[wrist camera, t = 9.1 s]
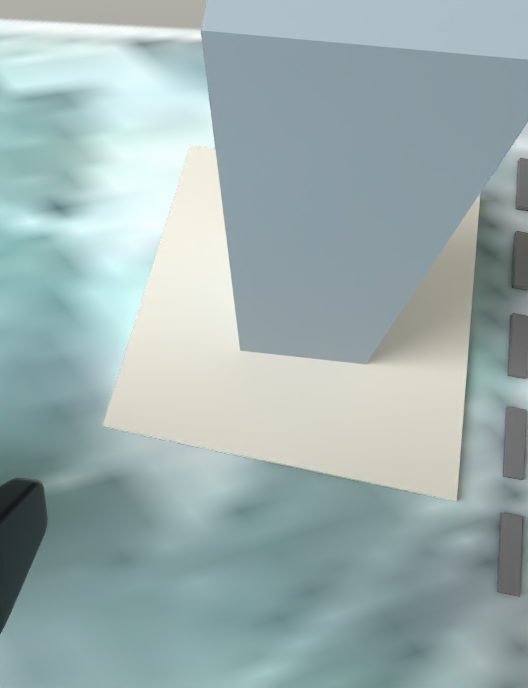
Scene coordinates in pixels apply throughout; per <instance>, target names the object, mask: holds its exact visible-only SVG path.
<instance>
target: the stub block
mask: <svg viewBox="0 0 528 688" xmlns="http://www.w3.org/2000/svg"><path fill="white" fill-rule="evenodd" d="M201 35H202V43H203V51H204V60H205V68H206V76H207V84H208V92H209V100H210V109H211V117H212V125H213V133H214V141H215V149H216V158H217V166H218V174H219V182H220V190H221V198H222V207H223V215H224V223H225V231H226V239H227V247H228V256H229V264H230V272H231V280H232V288H233V296H234V305H235V313H236V321H237V329H238V337H239V346H240V351H248V352H257V353H266V354H275V355H285V356H294V357H303V358H312V359H321V360H330V361H339V362H348V363H357V364H367V362H368V361H369V359H370V358H371V356H372V355H373V353H374V352H375V350H376V349H377V347H378V346H379V344H380V343H381V341H382V340H383V338H384V337H385V335H386V334H387V332H388V331H389V329H390V328H391V326H392V325H393V323H394V322H395V320H396V319H397V317H398V316H399V314H400V313H401V311H402V310H403V308H404V307H405V305H406V304H407V302H408V301H409V299H410V298H411V296H412V295H413V293H414V292H415V290H416V289H417V287H418V286H419V284H420V283H421V281H422V280H423V278H424V277H425V275H426V274H427V272H428V271H429V269H430V268H431V266H432V265H433V263H434V262H435V260H436V259H437V257H438V256H439V254H440V253H441V251H442V250H443V248H444V247H445V245H446V244H447V242H448V241H449V239H450V238H451V236H452V235H453V233H454V232H455V230H456V229H457V227H458V226H459V224H460V223H461V221H462V220H463V218H464V217H465V215H466V214H467V212H468V211H469V209H470V208H471V206H472V205H473V203H474V202H475V200H476V199H477V197H478V196H479V194H480V193H481V191H482V190H483V188H484V187H485V185H486V184H487V182H488V181H489V179H490V178H491V176H492V175H493V173H494V172H495V170H496V169H497V167H498V166H499V164H500V163H501V161H502V160H503V158H504V157H505V155H506V154H507V152H508V151H509V149H510V148H511V146H512V145H513V143H514V142H515V140H516V139H517V137H518V136H519V134H520V133H521V131H522V130H523V128H524V127H525V125H526V124H527V122H528V0H207V4H206V9H205V13H204V18H203V23H202V28H201Z"/></svg>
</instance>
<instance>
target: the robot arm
mask: <svg viewBox="0 0 528 688" xmlns="http://www.w3.org/2000/svg"><path fill="white" fill-rule="evenodd" d="M47 520H48V519H47V509H46V501H45V493H44V487H43V484H42V483H41V482H40V481H38V480H33V479H25V478H15V479H12V480H10V481H8V482H6V483H5V484H3V485H1V486H0V634H1V632H2V630H3V628H4V626H5V624H6V622H7V620H8V618H9V615H10V613H11V611H12V609H13V606H14V604H15V602H16V599H17V597H18V595H19V592H20V590H21V588H22V585H23V583H24V581H25V578H26V576H27V574H28V571H29V569H30V567H31V564H32V562H33V560H34V557H35V555H36V553H37V550H38V548H39V546H40V543H41V541H42V539H43V536H44V534H45V531H46V528H47Z"/></svg>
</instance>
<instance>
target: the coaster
mask: <svg viewBox="0 0 528 688" xmlns="http://www.w3.org/2000/svg"><path fill="white" fill-rule="evenodd" d="M479 205H480V195H479V196H478V197H477V199H476V200H475V202H474V203H473V205H472V206H471V208H470V209H469V211H468V212H467V214H466V215H465V217H464V218H463V220H462V221H461V223H460V224H459V226H458V227H457V229H456V230H455V232H454V233H453V235H452V236H451V238H450V239H449V241H448V242H447V244H446V245H445V247H444V248H443V250H442V251H441V253H440V254H439V256H438V257H437V259H436V260H435V262H434V263H433V265H432V266H431V268H430V269H429V271H428V272H427V274H426V275H425V277H424V278H423V280H422V281H421V283H420V284H419V286H418V287H417V289H416V290H415V292H414V293H413V295H412V296H411V298H410V299H409V301H408V302H407V304H406V305H405V307H404V308H403V310H402V311H401V313H400V314H399V316H398V317H397V319H396V320H395V322H394V323H393V325H392V326H391V328H390V329H389V331H388V332H387V334H386V335H385V337H384V338H383V340H382V341H381V343H380V344H379V346H378V347H377V349H376V350H375V352H374V353H373V355H372V356H371V358H370V359H369V361H368V362H367V364H357V363H348V362H339V361H330V360H321V359H312V358H303V357H294V356H285V355H275V354H266V353H257V352H248V351H240V346H239V337H238V329H237V321H236V313H235V305H234V296H233V288H232V280H231V272H230V264H229V256H228V247H227V239H226V231H225V223H224V215H223V207H222V198H221V190H220V182H219V174H218V166H217V158H216V149H213V148H207V147H201V146H196V145H190V148H189V151H188V154H187V158H186V161H185V164H184V167H183V170H182V173H181V177H180V180H179V183H178V186H177V189H176V193H175V196H174V199H173V202H172V205H171V208H170V212H169V215H168V218H167V221H166V224H165V228H164V231H163V234H162V237H161V240H160V243H159V247H158V250H157V253H156V256H155V259H154V263H153V266H152V269H151V272H150V275H149V279H148V282H147V285H146V288H145V291H144V294H143V298H142V301H141V304H140V307H139V310H138V314H137V317H136V320H135V323H134V326H133V329H132V333H131V336H130V339H129V342H128V345H127V349H126V352H125V355H124V358H123V361H122V364H121V368H120V371H119V374H118V377H117V380H116V384H115V387H114V390H113V393H112V396H111V400H110V403H109V406H108V409H107V412H106V415H105V419H104V422H103V425H102V426H103V427H105V428H109V429H113V430H118V431H123V432H128V433H132V434H137V435H142V436H147V437H151V438H156V439H161V440H165V441H170V442H175V443H180V444H184V445H189V446H194V447H199V448H203V449H208V450H213V451H217V452H222V453H227V454H232V455H236V456H241V457H246V458H251V459H255V460H260V461H265V462H269V463H274V464H279V465H284V466H288V467H293V468H298V469H303V470H307V471H312V472H317V473H321V474H326V475H331V476H336V477H340V478H345V479H350V480H354V481H359V482H364V483H369V484H373V485H378V486H383V487H388V488H392V489H397V490H402V491H406V492H411V493H416V494H421V495H425V496H430V497H435V498H440V499H444V500H449V501H457V492H458V479H459V466H460V453H461V440H462V427H463V414H464V401H465V388H466V375H467V362H468V348H469V335H470V322H471V309H472V296H473V283H474V270H475V257H476V244H477V231H478V218H479Z"/></svg>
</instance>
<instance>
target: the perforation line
mask: <svg viewBox="0 0 528 688" xmlns="http://www.w3.org/2000/svg"><path fill="white" fill-rule="evenodd" d="M516 209H521V210H527V211H528V159H524V158H520V159H519V161H518V175H517V195H516ZM512 287H515V288H520V289H525V290H528V233H525V232H520V231H517V232H516V233H515V237H514V257H513V278H512ZM527 373H528V316H525V315H520V314H515V313H513V314H512V315H511V319H510V340H509V361H508V376H513V377H518V378H523V379H525V378H527ZM525 430H526V410H524V409H519V408H514V407H506V423H505V443H504V464H503V476H504V477H509V478H514V479H519V480H523V479H524V459H525ZM521 544H522V516H517V515H512V514H507V513H501V526H500V546H499V567H498V588H497V592H500V593H505V594H509V595H514V596H518V597H520V573H521Z"/></svg>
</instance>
